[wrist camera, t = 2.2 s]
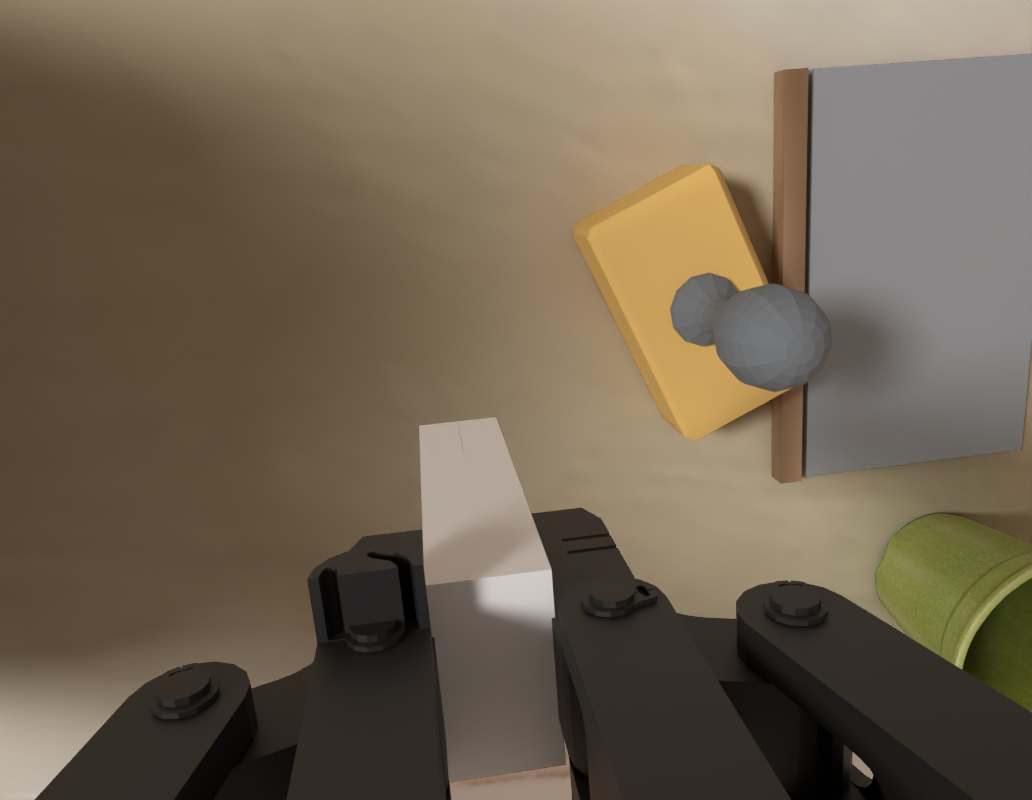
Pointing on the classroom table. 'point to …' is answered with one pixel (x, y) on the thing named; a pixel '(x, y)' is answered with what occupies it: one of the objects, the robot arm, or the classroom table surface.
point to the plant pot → (964, 598)
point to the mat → (919, 260)
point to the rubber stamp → (699, 301)
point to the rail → (789, 248)
